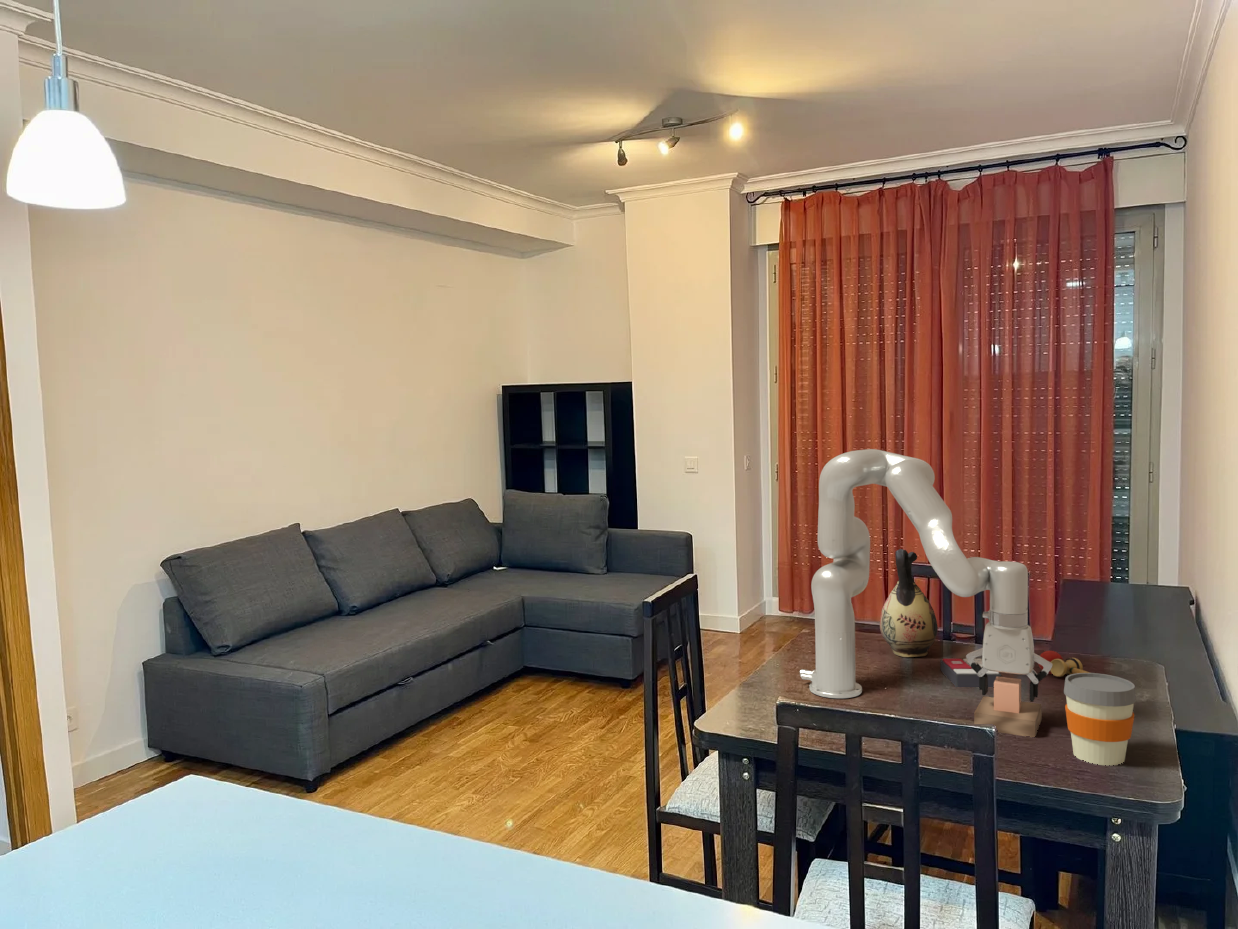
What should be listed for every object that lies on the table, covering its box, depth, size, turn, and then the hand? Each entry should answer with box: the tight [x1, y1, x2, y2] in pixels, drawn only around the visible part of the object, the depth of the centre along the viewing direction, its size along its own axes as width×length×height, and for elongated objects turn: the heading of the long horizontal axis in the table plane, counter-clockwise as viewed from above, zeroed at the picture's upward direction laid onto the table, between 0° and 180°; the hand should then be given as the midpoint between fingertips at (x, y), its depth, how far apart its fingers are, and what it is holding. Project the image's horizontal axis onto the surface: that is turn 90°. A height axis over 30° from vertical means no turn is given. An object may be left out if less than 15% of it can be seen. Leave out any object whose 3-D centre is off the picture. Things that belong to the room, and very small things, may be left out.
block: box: [993, 676, 1022, 713], centre depth 194 cm, size 5×5×6 cm
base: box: [973, 695, 1043, 738], centre depth 195 cm, size 12×12×4 cm
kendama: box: [1037, 650, 1091, 678], centre depth 224 cm, size 8×6×18 cm
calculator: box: [939, 658, 1002, 688], centre depth 227 cm, size 11×4×15 cm
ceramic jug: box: [879, 548, 939, 658], centre depth 249 cm, size 17×15×30 cm
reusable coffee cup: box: [1063, 672, 1137, 767], centre depth 175 cm, size 12×13×15 cm
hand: (1008, 696), depth 194 cm, fingers open, 9 cm apart
